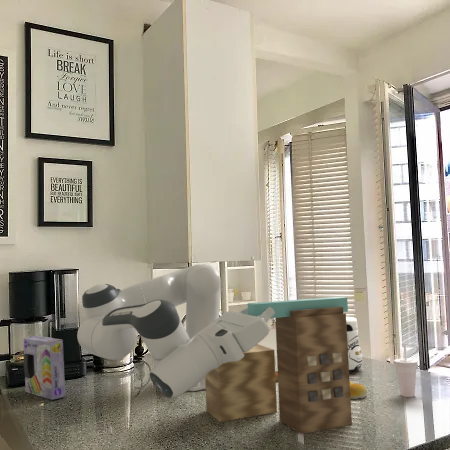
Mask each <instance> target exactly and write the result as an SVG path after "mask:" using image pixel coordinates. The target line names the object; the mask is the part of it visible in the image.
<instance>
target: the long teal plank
mask: <svg viewBox="0 0 450 450" xmlns="http://www.w3.org/2000/svg"><path fill="white" fill-rule="evenodd" d="M348 305H349V304H348V297H345V296H332V297H319V298H318V297H317V298H305V299H304V298H303V299H292V300H277V301H276V300H274V301H261V302H248V303H247V307H248V315H252V316H256V317H257V316H259V315H261V314H262V313H263V312H264V310H265V309H266V308H268V307H270V308H273V310H274V311H275V314H274V315H273V316H272V317H270V319H275V318H280V317H290V311H292V310H304V309H316V308H329V307H343V313H346V312H349V306H348Z"/></svg>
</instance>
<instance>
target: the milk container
mask: <svg viewBox="0 0 450 450" xmlns="http://www.w3.org/2000/svg"><path fill="white" fill-rule="evenodd" d="M346 324H347V343H348V361H349V373H351V372H355V371H358V370H359V369H360V368H361V367H362V365H363V352H362V349H361V346H360V341H359V327H358V326H359V325H358V320H357V318H356V317H352V316H346Z"/></svg>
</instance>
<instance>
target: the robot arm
mask: <svg viewBox="0 0 450 450" xmlns="http://www.w3.org/2000/svg"><path fill="white" fill-rule="evenodd" d="M221 283H222V281H221V275H220V273H219V272H218V270H217V269H216V268H215V267H214V266H212V265H209V264H201V263H200V264H194V265H191V266H188V267H185V268H181V269H178V270H176V271H173V272H169V273H166V274H164V275H160V276H157V277H155V278H151V279H148V280H144V281H142V282H138V283H135V284H132V285H129V286H128V287H125V288H123V289H120V288H116V287H115V286H114V285H111V284H109V283H104V284H103V283H99V284H96V285H93V286H91V287H89V289H87V290H85V291H84V293H83V294H82V297H81V300H82V302H81V303H82V307H83V308H84V314H85V318H86V320H84V321H83V322H82V323H81V324H80V326H79V327H78V330H77V335H76V336H77V337H76V338H77V342H78V344H79V346H80V347H81V348H82V349H84V350H85V351H86V352H88V353H90V354H92V355H94V356H97V357H99V358H101V359H102V358H103V359H106V360H112V361H113V360H114V361H115V360H116V361H117V360H121V359H124V358H125V357H127V356H128V355H130V354H131V352H132V351H133V350H134V348H135V346H136V343H137V340H138V335H139V337H140V338H141V339H142V342H143V343H144V345H145V346H146V348H147V350H148V351H149V354H150V355H151V358H152V360H153V367H152V369H151V370H150V371H149V378H150V381H151V382H152V384H153V385H154V387H155V388H156V389H157V390H158V391H159V393H160V394H161V395H162V396H164V397H166V398H168V399H173V398H177V397H179V396H180V395H182V394H184V393H186V392H188V391H189V392H197V391H201V390H206V384H205V376H206V375H207V374H208V373H209V372H210V371H212V370H214V369H217V368H218V367H219V366H221V365H222V364H223V363H227V362H233V361H239V360H241V359H242V358H243V357H244V353H243V352H247V351H249V350H250V349H252V348H253V347H254V346H256V345H257V344H259V343H260V342H261V341H263V340H264V339H266V337H267V336H268V335H269V333H270V331H271V328H270V327H269V325H268V322H269V320H270V319H271V318H270V317H272V316H273V315H274V314H275V311H274V310H273V308H270V307H268V308H266V309H265V310H264V312H263V313H262V314H261V315H259V316H257V317H256V316H252V315H248V306H247V307H245V308H243V309H241V310H239V311H237V312H236V311H232V310H228V311H226V312H224V313H223V314H222V315H220V310H221V309H220V305H221V291H222V290H221V289H222V288H221V287H222V286H221ZM182 304H185V305H186V306H185V307H186V308H185V327H184V324H183V322H182V321H181V319H180V315H179V313H178V311H177V308H176V307H178V306H179V305H180V306H181V305H182Z"/></svg>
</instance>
